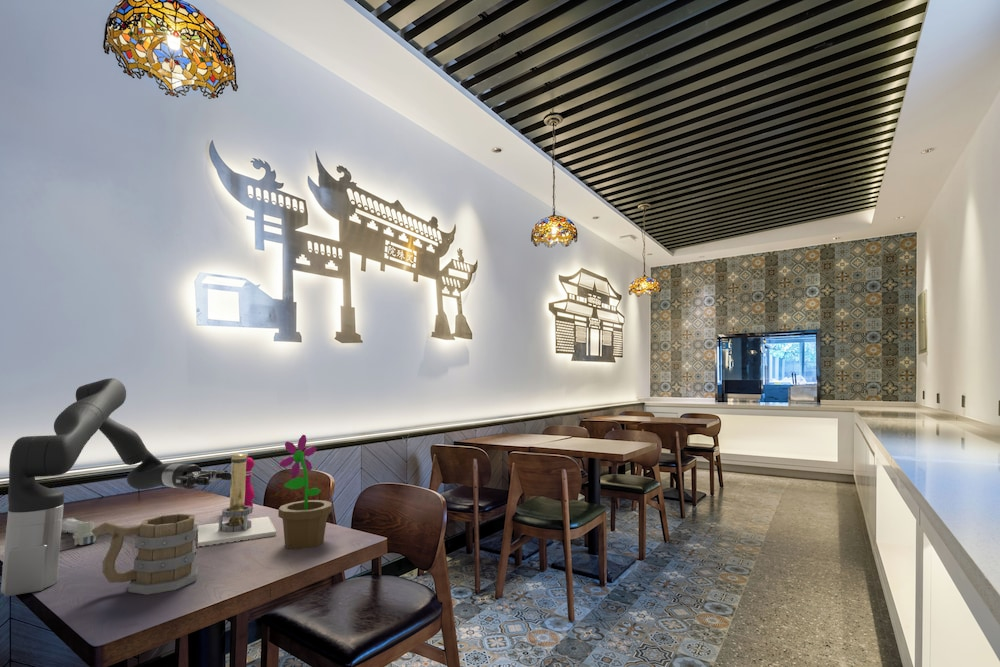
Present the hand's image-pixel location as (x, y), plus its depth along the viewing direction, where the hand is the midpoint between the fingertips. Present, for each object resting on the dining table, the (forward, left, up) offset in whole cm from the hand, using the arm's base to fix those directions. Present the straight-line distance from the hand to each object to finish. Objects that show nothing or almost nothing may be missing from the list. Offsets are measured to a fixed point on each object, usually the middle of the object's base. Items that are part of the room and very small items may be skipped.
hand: (220, 478), depth 155 cm
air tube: (-6, -5, -14) cm, 16 cm away
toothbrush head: (+15, +36, -16) cm, 42 cm away
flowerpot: (-28, -21, -16) cm, 38 cm away
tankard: (-41, +15, -16) cm, 46 cm away
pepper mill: (+26, -9, -16) cm, 32 cm away
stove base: (-6, -5, -16) cm, 17 cm away
